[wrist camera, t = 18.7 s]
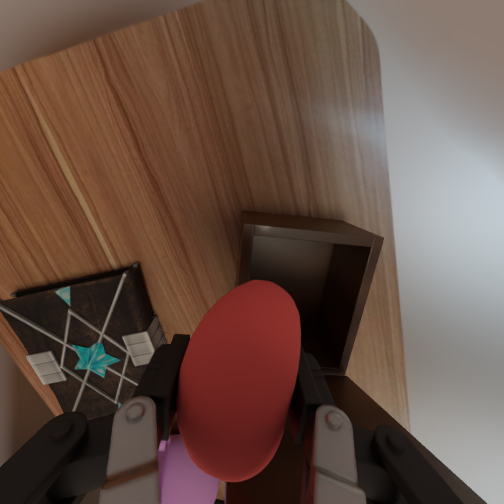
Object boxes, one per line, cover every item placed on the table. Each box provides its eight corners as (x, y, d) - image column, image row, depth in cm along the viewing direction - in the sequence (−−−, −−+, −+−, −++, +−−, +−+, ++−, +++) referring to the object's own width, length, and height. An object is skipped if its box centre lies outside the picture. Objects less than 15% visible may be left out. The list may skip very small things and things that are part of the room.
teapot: (232, 482, 44) (229, 594, 32) (158, 493, 44) (128, 610, 32) (211, 403, 38) (198, 506, 26) (125, 417, 38) (73, 525, 26)
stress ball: (164, 364, 14) (166, 511, 10) (186, 261, 9) (210, 485, 5) (242, 353, 17) (271, 471, 12) (299, 265, 11) (386, 422, 7)
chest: (242, 210, 29) (244, 223, 20) (343, 220, 30) (384, 237, 21) (231, 321, 34) (228, 369, 25) (319, 327, 35) (345, 376, 26)
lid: (223, 581, 8) (208, 757, 7) (566, 574, 9) (571, 728, 8) (229, 369, 25) (224, 419, 24) (346, 375, 26) (344, 423, 25)
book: (186, 387, 37) (178, 418, 32) (83, 408, 37) (60, 441, 32) (140, 260, 30) (121, 276, 26) (14, 286, 31) (-28, 306, 26)
